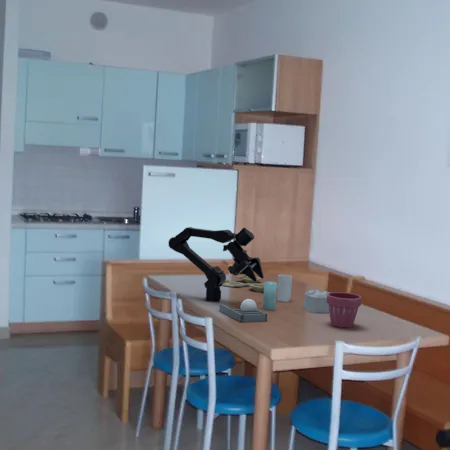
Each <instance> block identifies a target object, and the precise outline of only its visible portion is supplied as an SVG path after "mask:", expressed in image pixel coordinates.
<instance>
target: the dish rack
mask: <svg viewBox="0 0 450 450" xmlns="http://www.w3.org/2000/svg"><path fill="white" fill-rule="evenodd" d="M219 312H221V313H222V314H225V316H228V317H230V318H232V319H234V320H236V321H237V322H240V323H257V322H267V321H268V313H266V312H263V311H262V310H260V309H258V308H256V310H248V311H241V309H240V308H231V307H230V306H229V307H228V306H227V305H225V304H223V303H219Z"/></svg>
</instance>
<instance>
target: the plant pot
mask: <svg viewBox="0 0 450 450" xmlns="http://www.w3.org/2000/svg"><path fill="white" fill-rule="evenodd" d="M327 303H328V304H329V313H328V314H329V318H330V325H332V326H333V327H336V326H337V328H343V327H349V328H353V327H352V326H354V324H355V320H356V318H357V315H358V314H357V313H358V310H359V308H360V307H361V306H362V296H361V295H359V294H357V293H351V292H341V291H340V292H339V291H335V292H332V291H331V292H327Z"/></svg>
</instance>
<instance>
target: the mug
mask: <svg viewBox="0 0 450 450" xmlns="http://www.w3.org/2000/svg"><path fill="white" fill-rule="evenodd" d="M277 283H278V289H276V301H278V302H282V303H289V302H291V294H292V285H293V284H292V283H293V276H292V275H290V274H278V276H277Z"/></svg>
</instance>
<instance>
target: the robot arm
mask: <svg viewBox="0 0 450 450" xmlns="http://www.w3.org/2000/svg"><path fill="white" fill-rule="evenodd" d="M191 237H193V238H194V237H195V238H203V239H209V240H213V241H214V242H217V243H221V244H224V245H223V248H222V252H226V251H228V252H229V253H230V255H231V256H232V257H233V262H234V263H233V264H232V265H229V266H228V267H227V270H228V273H229V274H230V275H233V276H235V277H237V276H239V275H244V274H245V275H246V276H248V277H249V278H250V279H252V280H253V281H257V279H256V277H260V278H261V280H262V279H264V273H263V269H262V263H261V259H260V258H259V257H256V256H255V257H252V256H249V255H248V253H247V252H248V251H247V249H244V248H243V247H246V246H248V245H249V244H250V243H251V242H252V241H253V240H254V239H255V235H254V234H253V232H252V231H250V230H249V229H247V228H246V227H243V228H241V230H240V231H239V232H237V233H234V232H232V230H230V229H220V230H212V229H204V228H197V227H196V228H195V227H192V226H189V227H185V228H184V229H183V230H182V231H181V232H179V233H178V234H176V235H175V236H172V237H170V239H168V247H169V248H170V249H171V250H173V251H174V252H176V253H178V254H181V255H183V256H184V257H185V258H186V259H187V260H189V261H190V262H191V263H192V264H193V265H194V266H195V267H197V268H198V270H200V271H201V272H202V273H203V274H204V275H205V277H206V279H207V280H206V281H205V282H203V284H204V288H205V291H206V292H205V299H206V300H205V302H216V303H217V302H218V303H219V302H221V300H222V290H221V287H222V286H223V285H222V284H223V283H224V282H225V280H227V275H226V273H225V270H222V269H221V267H219V266H217V265H216V266H212V265H210V263H208V262H207V261H206V260H204V259H203V257H201V256H200V255H199V254H197V253H196V252H195V251H194V250H193V249H192V248H190V246H189V243H188V241H189V240H190V239H191ZM232 240H233V241H232ZM226 243H227V244H226ZM255 274H256V275H257V276H256V275H255Z"/></svg>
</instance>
